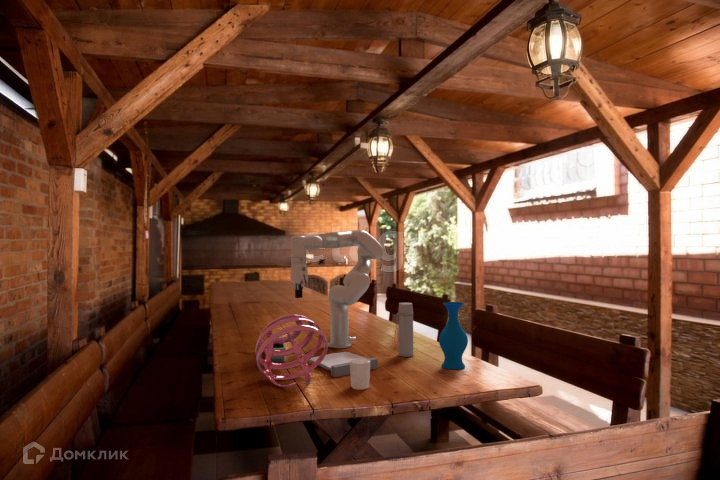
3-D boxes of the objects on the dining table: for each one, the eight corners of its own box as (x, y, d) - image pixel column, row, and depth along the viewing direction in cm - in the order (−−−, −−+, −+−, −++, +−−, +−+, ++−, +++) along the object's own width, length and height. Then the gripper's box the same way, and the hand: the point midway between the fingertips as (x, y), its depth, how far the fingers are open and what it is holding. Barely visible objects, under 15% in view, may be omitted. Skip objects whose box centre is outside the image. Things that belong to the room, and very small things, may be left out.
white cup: (349, 384, 182) (349, 358, 182) (369, 383, 183) (369, 357, 183) (350, 390, 175) (350, 363, 175) (371, 390, 175) (371, 363, 175)
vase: (433, 365, 209) (433, 302, 209) (457, 362, 214) (457, 300, 214) (449, 372, 198) (448, 305, 198) (473, 369, 203) (473, 304, 203)
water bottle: (415, 354, 229) (415, 302, 228) (411, 358, 221) (411, 305, 221) (396, 352, 232) (396, 301, 231) (392, 356, 224) (392, 304, 224)
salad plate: (306, 365, 211) (306, 357, 211) (345, 357, 224) (345, 350, 224) (332, 376, 194) (332, 367, 194) (373, 367, 207) (373, 359, 207)
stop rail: (373, 366, 207) (373, 357, 207) (377, 368, 204) (377, 359, 204) (331, 375, 194) (330, 365, 194) (334, 377, 191) (334, 367, 191)
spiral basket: (335, 341, 168) (313, 292, 189) (258, 366, 161) (243, 312, 181) (339, 388, 186) (318, 338, 206) (270, 412, 178) (255, 358, 198)
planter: (286, 363, 213) (286, 347, 213) (269, 364, 211) (269, 348, 211) (282, 349, 239) (282, 335, 239) (267, 350, 238) (267, 336, 238)
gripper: (312, 260, 228) (313, 298, 228) (298, 259, 240) (298, 295, 240) (299, 261, 224) (299, 300, 224) (284, 260, 236) (284, 296, 236)
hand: (298, 297), depth 232 cm, fingers closed
